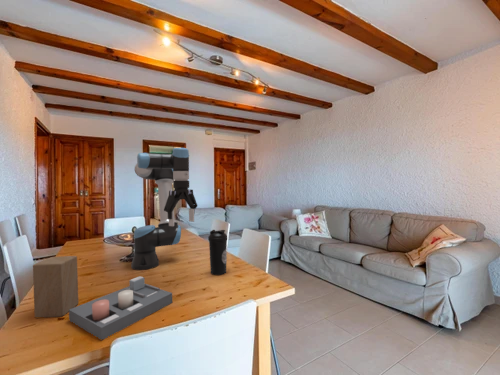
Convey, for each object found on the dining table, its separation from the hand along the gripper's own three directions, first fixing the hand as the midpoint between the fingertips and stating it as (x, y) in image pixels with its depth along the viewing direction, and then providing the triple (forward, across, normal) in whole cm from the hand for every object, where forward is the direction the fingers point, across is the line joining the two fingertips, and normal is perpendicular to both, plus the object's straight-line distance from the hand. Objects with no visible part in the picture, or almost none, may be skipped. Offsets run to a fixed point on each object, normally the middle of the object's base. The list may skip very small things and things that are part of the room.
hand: (182, 223), depth 121 cm
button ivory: (+26, -32, -2) cm, 41 cm away
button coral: (+26, -41, -1) cm, 48 cm away
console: (+29, -31, +1) cm, 42 cm away
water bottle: (+29, +19, -8) cm, 36 cm away
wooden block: (+29, -42, +25) cm, 57 cm away
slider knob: (+25, -21, +6) cm, 33 cm away
